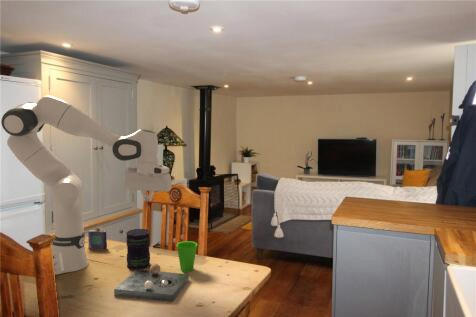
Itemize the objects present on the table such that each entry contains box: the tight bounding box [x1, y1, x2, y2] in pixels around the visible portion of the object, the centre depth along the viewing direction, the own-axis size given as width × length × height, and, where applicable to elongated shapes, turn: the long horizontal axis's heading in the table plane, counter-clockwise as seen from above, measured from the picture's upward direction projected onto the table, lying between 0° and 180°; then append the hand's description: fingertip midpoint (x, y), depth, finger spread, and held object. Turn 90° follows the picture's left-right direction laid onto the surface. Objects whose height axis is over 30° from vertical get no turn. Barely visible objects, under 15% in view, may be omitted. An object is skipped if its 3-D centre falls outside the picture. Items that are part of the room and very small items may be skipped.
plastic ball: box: [144, 281, 153, 289], centre depth 131 cm, size 3×3×3 cm
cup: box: [175, 240, 199, 273], centre depth 155 cm, size 9×9×11 cm
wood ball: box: [149, 263, 161, 274], centre depth 144 cm, size 4×4×4 cm
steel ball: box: [160, 280, 169, 285], centre depth 137 cm, size 3×3×3 cm
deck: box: [113, 269, 190, 303], centre depth 138 cm, size 22×18×2 cm
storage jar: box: [125, 228, 151, 271], centre depth 158 cm, size 10×10×15 cm
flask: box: [87, 226, 108, 250], centre depth 180 cm, size 9×3×11 cm, turn 84°
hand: (147, 200), depth 155 cm, fingers closed
